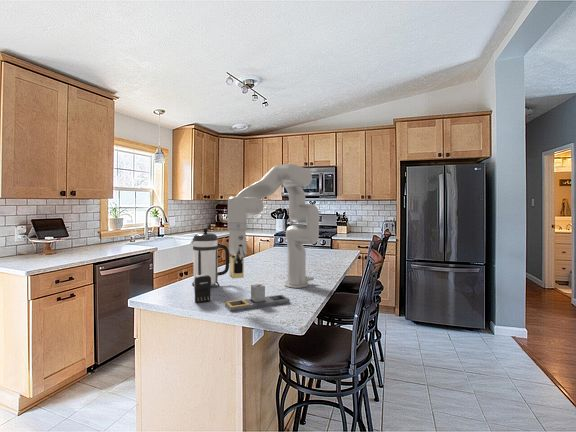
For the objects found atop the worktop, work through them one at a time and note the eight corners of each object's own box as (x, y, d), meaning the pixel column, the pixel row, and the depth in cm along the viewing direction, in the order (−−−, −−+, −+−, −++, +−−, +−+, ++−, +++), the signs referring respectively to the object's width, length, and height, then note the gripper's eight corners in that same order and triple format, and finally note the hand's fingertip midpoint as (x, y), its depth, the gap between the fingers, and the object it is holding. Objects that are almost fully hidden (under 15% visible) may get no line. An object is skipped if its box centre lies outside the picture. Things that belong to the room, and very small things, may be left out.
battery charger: (195, 303, 135) (195, 277, 135) (193, 301, 139) (193, 275, 138) (212, 301, 139) (212, 275, 138) (210, 299, 142) (209, 273, 142)
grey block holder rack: (281, 298, 144) (281, 294, 144) (289, 303, 137) (289, 298, 137) (225, 305, 133) (225, 301, 133) (230, 311, 126) (230, 307, 126)
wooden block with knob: (240, 275, 133) (240, 256, 133) (243, 277, 129) (243, 257, 129) (229, 276, 131) (229, 256, 131) (232, 278, 127) (232, 258, 127)
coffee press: (212, 291, 156) (212, 229, 155) (184, 288, 161) (184, 228, 160) (229, 283, 172) (229, 227, 171) (204, 280, 177) (203, 226, 176)
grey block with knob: (260, 302, 138) (260, 283, 138) (264, 305, 134) (264, 286, 134) (251, 303, 136) (251, 284, 136) (254, 306, 132) (254, 287, 132)
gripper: (252, 228, 124) (252, 275, 124) (239, 226, 139) (239, 267, 139) (234, 228, 121) (233, 276, 121) (222, 226, 136) (222, 269, 136)
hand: (236, 271), depth 130 cm, fingers closed on wooden block with knob, 4 cm apart
